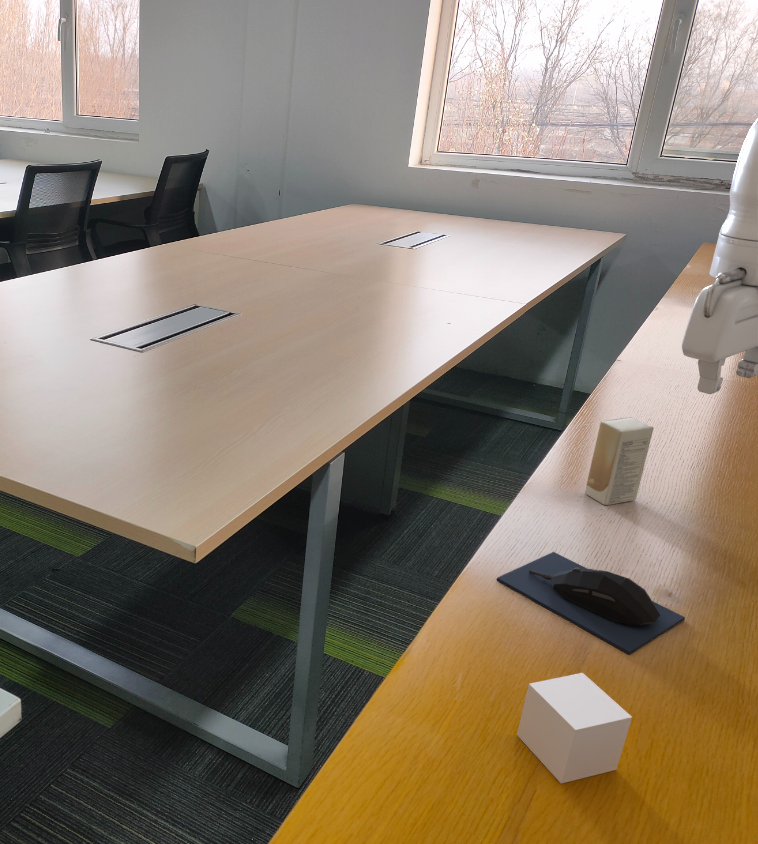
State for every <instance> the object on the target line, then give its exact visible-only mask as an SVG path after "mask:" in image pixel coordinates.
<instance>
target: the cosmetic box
mask: <svg viewBox="0 0 758 844" xmlns="http://www.w3.org/2000/svg"><path fill="white" fill-rule="evenodd" d="M654 428H655V427H654V426H652V425H650V424H648V423H646V422H643V421H641V420H639V419H637V418H635V417H632V416H630V417H622V418H615V419H608V420H602V421H601V420H600V423H599V427H598V431H597V436H596V440H595V444H594V450H593V453H592V459H591V463H590V468H589V472H588V476H587V481H586V484H585V489H584V494H585V495H587V496H588V497H590V498H592V499H593V500H595V501H597V502H598V503H600V504H602V505H604V506H609V505H614V504H620V503H621V504H622V503H627V502H630V501H635V500H637V496H638V493H639V488H640V485H641V480H642V476H643V473H644V468H645V464H646V460H647V456H648V453H649V448H650V444H651V440H652V438H653V437H652V435H653V432H654Z"/></svg>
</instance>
